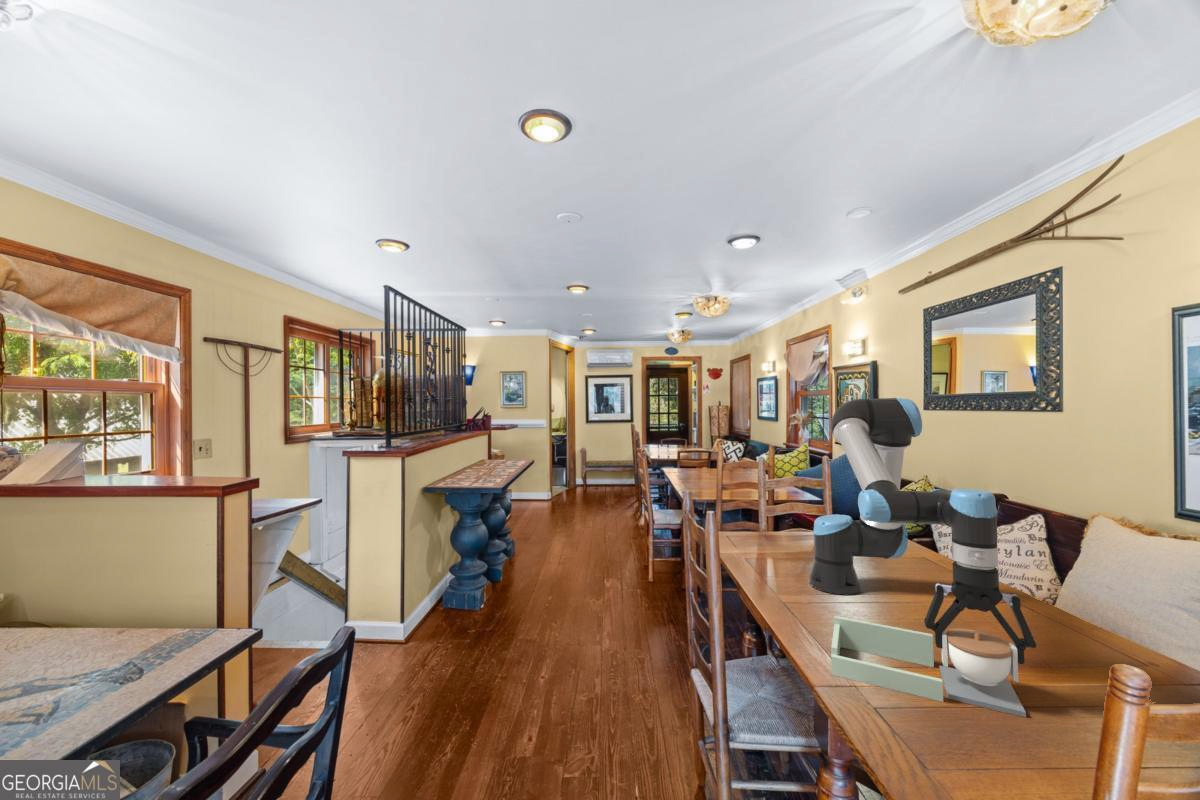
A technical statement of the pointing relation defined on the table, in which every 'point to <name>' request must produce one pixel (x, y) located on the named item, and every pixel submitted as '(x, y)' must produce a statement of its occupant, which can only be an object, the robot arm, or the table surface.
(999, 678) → the lidded jar
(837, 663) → the frame
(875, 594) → the table surface
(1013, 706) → the slate tile
